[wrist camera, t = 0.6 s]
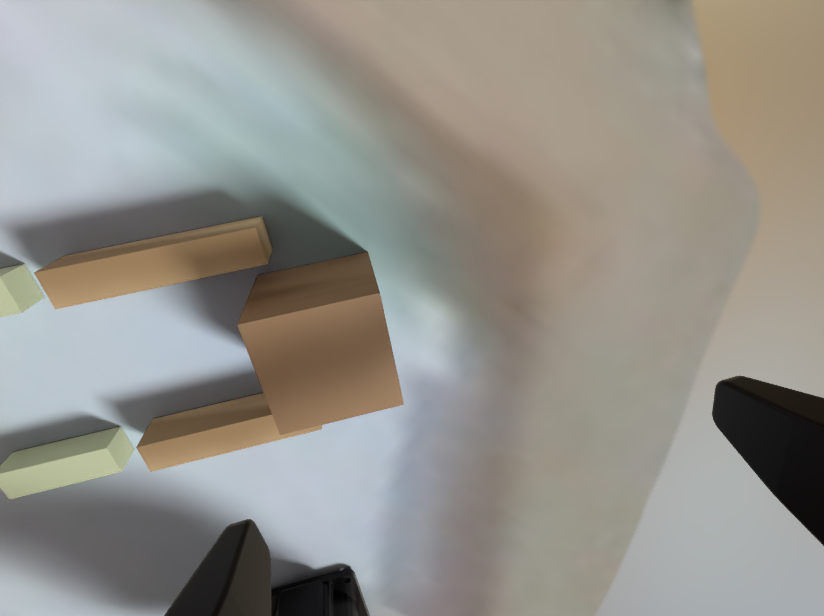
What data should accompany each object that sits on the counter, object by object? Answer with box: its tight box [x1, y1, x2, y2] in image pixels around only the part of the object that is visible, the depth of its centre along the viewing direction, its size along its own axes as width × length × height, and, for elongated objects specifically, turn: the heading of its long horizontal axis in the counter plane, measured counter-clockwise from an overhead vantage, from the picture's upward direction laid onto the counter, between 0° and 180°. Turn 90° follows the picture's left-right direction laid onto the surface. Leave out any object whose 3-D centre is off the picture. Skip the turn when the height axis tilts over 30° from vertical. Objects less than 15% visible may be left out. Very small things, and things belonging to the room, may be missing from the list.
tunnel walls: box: [34, 216, 322, 472], centre depth 19 cm, size 10×8×2 cm
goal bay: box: [0, 264, 134, 499], centre depth 19 cm, size 10×5×2 cm, turn 9°
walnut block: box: [237, 252, 404, 435], centre depth 19 cm, size 5×5×5 cm
